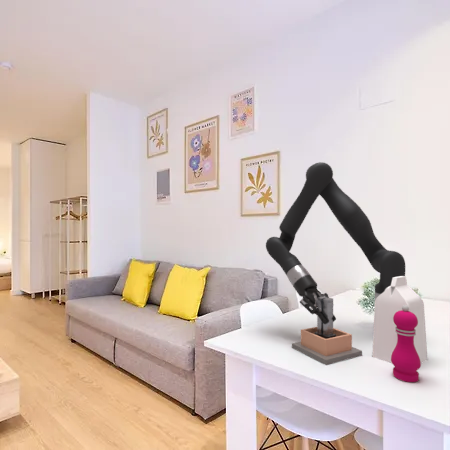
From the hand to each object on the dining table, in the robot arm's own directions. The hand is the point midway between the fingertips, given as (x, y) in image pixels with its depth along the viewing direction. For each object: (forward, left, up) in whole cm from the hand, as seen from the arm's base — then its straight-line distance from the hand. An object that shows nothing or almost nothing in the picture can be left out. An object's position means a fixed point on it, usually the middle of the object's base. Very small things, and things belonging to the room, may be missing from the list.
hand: (330, 321), depth 106 cm
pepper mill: (-6, +22, -11) cm, 25 cm away
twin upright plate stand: (0, -2, -6) cm, 7 cm away
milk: (-17, +13, -11) cm, 24 cm away
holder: (0, -2, -10) cm, 11 cm away
